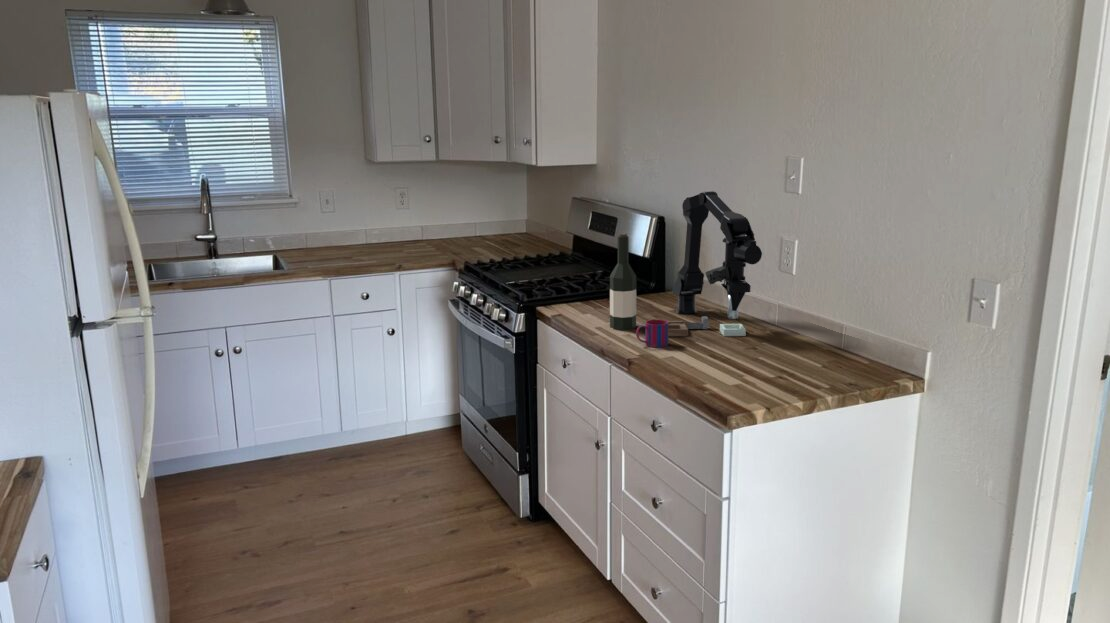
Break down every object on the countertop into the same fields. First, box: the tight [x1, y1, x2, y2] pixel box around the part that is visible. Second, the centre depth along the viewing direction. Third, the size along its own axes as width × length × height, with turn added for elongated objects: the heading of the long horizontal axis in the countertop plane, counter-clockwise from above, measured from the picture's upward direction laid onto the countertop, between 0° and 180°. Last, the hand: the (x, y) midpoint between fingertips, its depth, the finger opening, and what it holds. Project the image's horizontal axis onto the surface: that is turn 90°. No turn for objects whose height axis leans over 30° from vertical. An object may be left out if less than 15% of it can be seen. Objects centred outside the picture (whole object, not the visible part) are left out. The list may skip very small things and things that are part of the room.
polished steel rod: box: [726, 294, 739, 320], centre depth 249 cm, size 3×3×7 cm
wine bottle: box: [609, 232, 637, 331], centre depth 257 cm, size 8×8×30 cm
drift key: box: [670, 315, 709, 330], centre depth 257 cm, size 3×12×3 cm, turn 89°
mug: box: [635, 318, 669, 348], centre depth 240 cm, size 7×10×7 cm
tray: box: [719, 323, 747, 337], centre depth 251 cm, size 7×7×2 cm
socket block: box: [667, 320, 689, 337], centre depth 254 cm, size 11×8×2 cm
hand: (733, 309), depth 249 cm, fingers closed on polished steel rod, 3 cm apart
